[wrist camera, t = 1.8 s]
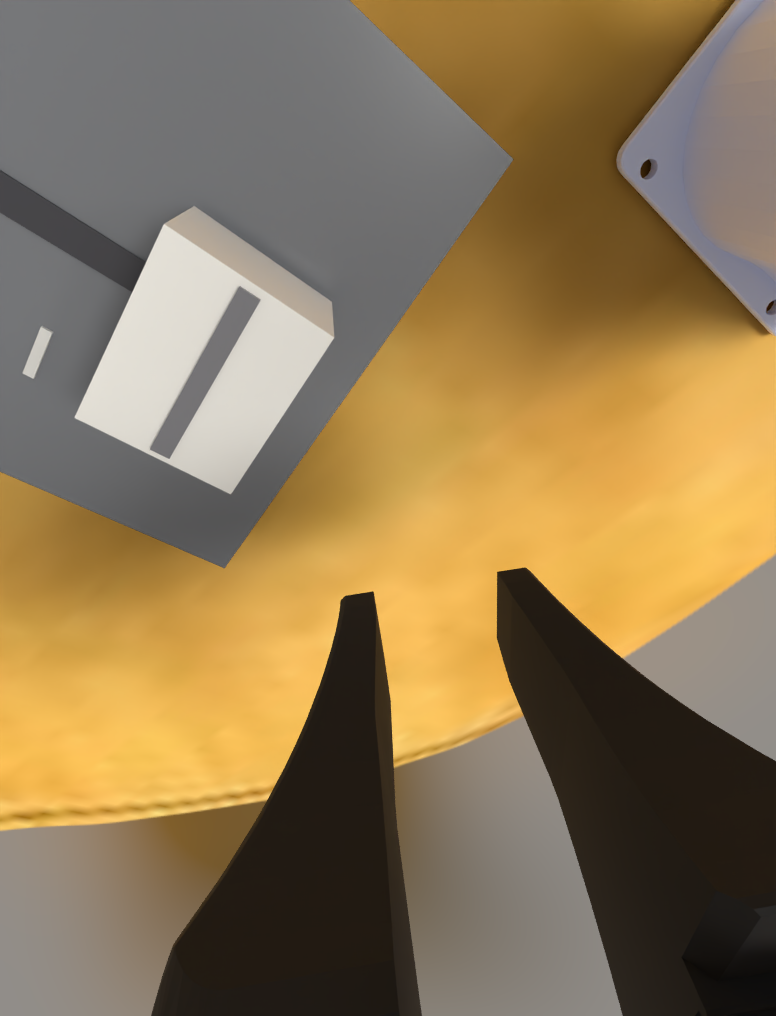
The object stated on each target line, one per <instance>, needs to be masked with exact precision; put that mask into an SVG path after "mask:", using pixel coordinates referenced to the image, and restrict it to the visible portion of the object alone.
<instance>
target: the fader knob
mask: <svg viewBox="0 0 776 1016" xmlns="http://www.w3.org/2000/svg"><path fill="white" fill-rule="evenodd" d="M333 339H334V325H333V310H332V302H331V301H330V300H329V299H327V298H326V297H324V296H323V295H321V294H320V293H319V292H317V291H316V290H314V289H313V288H311V287H310V286H308V285H307V284H306V283H304V282H303V281H301V280H300V279H298V278H297V277H296V276H294V275H293V274H291V273H290V272H288V271H287V270H286V269H284V268H283V267H281V266H280V265H278V264H277V263H275V262H274V261H273V260H271V259H270V258H268V257H267V256H265V255H264V254H263V253H261V252H260V251H258V250H257V249H255V248H254V247H253V246H251V245H250V244H248V243H247V242H245V241H244V240H242V239H241V238H240V237H238V236H237V235H235V234H234V233H232V232H231V231H230V230H228V229H227V228H225V227H224V226H222V225H221V224H219V223H218V222H217V221H215V220H214V219H212V218H211V217H209V216H208V215H207V214H205V213H204V212H202V211H201V210H199V209H198V208H197V207H195V206H193V207H192V208H190V209H188V210H187V211H185V212H183V213H181V214H180V215H178V216H176V217H175V218H173V219H171V220H170V221H168V222H166V223H164V225H163V227H162V229H161V231H160V233H159V236H158V238H157V240H156V242H155V244H154V246H153V249H152V251H151V253H150V255H149V257H148V259H147V262H146V264H145V266H144V268H143V270H142V272H141V275H140V277H139V279H138V281H137V283H136V285H135V288H134V290H133V292H132V294H131V296H130V298H129V301H128V303H127V305H126V307H125V309H124V311H123V314H122V316H121V318H120V320H119V322H118V324H117V327H116V329H115V331H114V333H113V335H112V337H111V340H110V342H109V344H108V346H107V348H106V350H105V353H104V355H103V357H102V359H101V361H100V363H99V366H98V368H97V370H96V372H95V374H94V376H93V379H92V381H91V383H90V385H89V387H88V389H87V392H86V394H85V396H84V398H83V400H82V402H81V405H80V407H79V409H78V411H77V413H76V415H75V418H76V419H78V420H80V421H82V422H84V423H86V424H88V425H90V426H92V427H94V428H96V429H98V430H100V431H102V432H104V433H106V434H108V435H110V436H113V437H115V438H117V439H119V440H121V441H123V442H125V443H127V444H129V445H131V446H133V447H135V448H137V449H139V450H141V451H143V452H145V453H147V454H149V455H151V456H153V457H155V458H157V459H159V460H161V461H163V462H166V463H168V464H170V465H172V466H174V467H176V468H178V469H180V470H182V471H184V472H186V473H188V474H190V475H192V476H194V477H196V478H198V479H200V480H202V481H204V482H206V483H208V484H210V485H212V486H214V487H216V488H219V489H221V490H223V491H225V492H227V493H229V494H231V493H232V492H233V490H234V489H235V487H236V486H237V484H238V483H239V481H240V480H241V478H242V477H243V475H244V474H245V472H246V471H247V469H248V468H249V466H250V465H251V463H252V462H253V460H254V459H255V457H256V456H257V454H258V453H259V451H260V450H261V448H262V446H263V445H264V443H265V442H266V440H267V439H268V437H269V436H270V434H271V433H272V431H273V430H274V428H275V427H276V425H277V424H278V422H279V421H280V419H281V418H282V416H283V415H284V413H285V412H286V410H287V409H288V407H289V406H290V404H291V403H292V401H293V399H294V398H295V396H296V395H297V393H298V392H299V390H300V389H301V387H302V386H303V384H304V383H305V381H306V380H307V378H308V377H309V375H310V374H311V372H312V371H313V369H314V368H315V366H316V365H317V363H318V362H319V360H320V359H321V357H322V356H323V354H324V353H325V351H326V349H327V348H328V346H329V345H330V343H331V342H332V340H333Z"/></svg>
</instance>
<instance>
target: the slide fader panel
mask: <svg viewBox="0 0 776 1016" xmlns="http://www.w3.org/2000/svg"><path fill="white" fill-rule="evenodd" d="M512 161H513V158H512V157H511V156H510V155H509V154H508V153H507V152H506V151H504V150H503V149H502V148H501V147H500V146H499V145H498V144H497V143H496V142H495V141H494V140H493V139H492V138H491V137H490V136H489V135H488V134H487V133H486V132H485V131H484V130H483V129H482V128H481V127H480V126H479V125H478V124H477V123H476V122H475V121H473V120H472V119H471V118H470V117H469V116H468V115H467V114H466V113H465V112H464V111H463V110H462V109H461V108H460V107H459V106H458V105H457V104H456V103H455V102H454V101H453V100H452V99H451V98H450V97H449V96H448V95H447V94H446V93H445V92H444V91H443V90H441V89H440V88H439V87H438V86H437V85H436V84H435V83H434V82H433V81H432V80H431V79H430V78H429V77H428V76H427V75H426V74H425V73H424V72H423V71H422V70H421V69H420V68H419V67H418V66H417V65H416V64H415V63H414V62H413V61H412V60H410V59H409V58H408V57H407V56H406V55H405V54H404V53H403V52H402V51H401V50H400V49H399V48H398V47H397V46H396V45H395V44H394V43H393V42H392V41H391V40H390V39H389V38H388V37H387V36H386V35H385V34H384V33H383V32H382V31H381V30H379V29H378V28H377V27H376V26H375V25H374V24H373V23H372V22H371V21H370V20H369V19H368V18H367V17H366V16H365V15H364V14H363V13H362V12H361V11H360V10H359V9H358V8H357V7H356V6H355V5H354V4H353V3H352V2H351V1H350V0H0V472H2V473H5V474H7V475H9V476H12V477H14V478H16V479H19V480H21V481H23V482H25V483H28V484H30V485H32V486H35V487H37V488H39V489H42V490H44V491H46V492H49V493H51V494H53V495H56V496H58V497H60V498H63V499H65V500H67V501H70V502H72V503H74V504H77V505H79V506H81V507H84V508H86V509H88V510H90V511H93V512H95V513H97V514H100V515H102V516H104V517H107V518H109V519H111V520H114V521H116V522H118V523H121V524H123V525H125V526H128V527H130V528H132V529H135V530H137V531H139V532H142V533H144V534H146V535H149V536H151V537H153V538H155V539H158V540H160V541H162V542H165V543H167V544H169V545H172V546H174V547H176V548H179V549H181V550H183V551H186V552H188V553H190V554H193V555H195V556H197V557H200V558H202V559H204V560H207V561H209V562H211V563H214V564H216V565H218V566H221V567H223V568H225V567H226V565H227V564H228V563H229V561H230V560H231V558H232V557H233V555H234V554H235V553H236V551H237V550H238V548H239V547H240V546H241V544H242V543H243V541H244V540H245V539H246V537H247V536H248V534H249V533H250V531H251V530H252V529H253V527H254V526H255V524H256V523H257V522H258V520H259V519H260V517H261V516H262V514H263V513H264V512H265V510H266V509H267V507H268V506H269V505H270V503H271V502H272V500H273V499H274V497H275V496H276V495H277V493H278V492H279V490H280V489H281V488H282V486H283V485H284V483H285V482H286V481H287V479H288V478H289V476H290V475H291V473H292V472H293V471H294V469H295V468H296V466H297V465H298V464H299V462H300V461H301V459H302V458H303V456H304V455H305V454H306V452H307V451H308V449H309V448H310V447H311V445H312V444H313V442H314V441H315V440H316V438H317V437H318V435H319V434H320V432H321V431H322V430H323V428H324V427H325V425H326V424H327V423H328V421H329V420H330V418H331V417H332V415H333V414H334V413H335V411H336V410H337V408H338V407H339V406H340V404H341V403H342V401H343V400H344V398H345V397H346V396H347V394H348V393H349V391H350V390H351V389H352V387H353V386H354V384H355V383H356V382H357V380H358V379H359V377H360V376H361V374H362V373H363V372H364V370H365V369H366V367H367V366H368V365H369V363H370V362H371V360H372V359H373V357H374V356H375V355H376V353H377V352H378V350H379V349H380V348H381V346H382V345H383V343H384V342H385V340H386V339H387V338H388V336H389V335H390V333H391V332H392V331H393V329H394V328H395V326H396V325H397V324H398V322H399V321H400V319H401V318H402V316H403V315H404V314H405V312H406V311H407V309H408V308H409V307H410V305H411V304H412V302H413V301H414V299H415V298H416V297H417V295H418V294H419V292H420V291H421V290H422V288H423V287H424V285H425V284H426V283H427V281H428V280H429V278H430V277H431V275H432V274H433V273H434V271H435V270H436V268H437V267H438V266H439V264H440V263H441V261H442V260H443V258H444V257H445V256H446V254H447V253H448V251H449V250H450V249H451V247H452V246H453V244H454V243H455V241H456V240H457V239H458V237H459V236H460V234H461V233H462V232H463V230H464V229H465V227H466V226H467V225H468V223H469V222H470V220H471V219H472V217H473V216H474V215H475V213H476V212H477V210H478V209H479V208H480V206H481V205H482V203H483V202H484V200H485V199H486V198H487V196H488V195H489V193H490V192H491V191H492V189H493V188H494V186H495V185H496V184H497V182H498V181H499V179H500V178H501V176H502V175H503V174H504V172H505V171H506V169H507V168H508V167H509V165H510V164H511V162H512ZM193 206H195V207H197V208H198V209H199V210H201V211H202V212H204V213H205V214H207V215H208V216H209V217H211V218H212V219H214V220H215V221H217V222H218V223H219V224H221V225H222V226H224V227H225V228H227V229H228V230H230V231H231V232H232V233H234V234H235V235H237V236H238V237H240V238H241V239H242V240H244V241H245V242H247V243H248V244H250V245H251V246H253V247H254V248H255V249H257V250H258V251H260V252H261V253H263V254H264V255H265V256H267V257H268V258H270V259H271V260H273V261H274V262H275V263H277V264H278V265H280V266H281V267H283V268H284V269H286V270H287V271H288V272H290V273H291V274H293V275H294V276H296V277H297V278H298V279H300V280H301V281H303V282H304V283H306V284H307V285H308V286H310V287H311V288H313V289H314V290H316V291H317V292H319V293H320V294H321V295H323V296H324V297H326V298H327V299H329V300H330V301H331V302H332V310H333V325H334V339H333V340H332V342H331V343H330V345H329V346H328V348H327V349H326V351H325V353H324V354H323V356H322V357H321V359H320V360H319V362H318V363H317V365H316V366H315V368H314V369H313V371H312V372H311V374H310V375H309V377H308V378H307V380H306V381H305V383H304V384H303V386H302V387H301V389H300V390H299V392H298V393H297V395H296V396H295V398H294V399H293V401H292V403H291V404H290V406H289V407H288V409H287V410H286V412H285V413H284V415H283V416H282V418H281V419H280V421H279V422H278V424H277V425H276V427H275V428H274V430H273V431H272V433H271V434H270V436H269V437H268V439H267V440H266V442H265V443H264V445H263V446H262V448H261V450H260V451H259V453H258V454H257V456H256V457H255V459H254V460H253V462H252V463H251V465H250V466H249V468H248V469H247V471H246V472H245V474H244V475H243V477H242V478H241V480H240V481H239V483H238V484H237V486H236V487H235V489H234V490H233V492H232V493H231V494H229V493H227V492H225V491H223V490H221V489H219V488H216V487H214V486H212V485H210V484H208V483H206V482H204V481H202V480H200V479H198V478H196V477H194V476H192V475H190V474H188V473H186V472H184V471H182V470H180V469H178V468H176V467H174V466H172V465H170V464H168V463H166V462H163V461H161V460H159V459H157V458H155V457H153V456H151V455H149V454H147V453H145V452H143V451H141V450H139V449H137V448H135V447H133V446H131V445H129V444H127V443H125V442H123V441H121V440H119V439H117V438H115V437H113V436H110V435H108V434H106V433H104V432H102V431H100V430H98V429H96V428H94V427H92V426H90V425H88V424H86V423H84V422H82V421H80V420H78V419H76V418H75V415H76V413H77V411H78V409H79V407H80V405H81V402H82V400H83V398H84V396H85V394H86V392H87V389H88V387H89V385H90V383H91V381H92V379H93V376H94V374H95V372H96V370H97V368H98V366H99V363H100V361H101V359H102V357H103V355H104V353H105V350H106V348H107V346H108V344H109V342H110V340H111V337H112V335H113V333H114V331H115V329H116V327H117V324H118V322H119V320H120V318H121V316H122V314H123V311H124V309H125V307H126V305H127V303H128V301H129V298H130V296H131V294H132V292H133V290H134V288H135V285H136V283H137V281H138V279H139V277H140V275H141V272H142V270H143V268H144V266H145V264H146V262H147V259H148V257H149V255H150V253H151V251H152V249H153V246H154V244H155V242H156V240H157V238H158V236H159V233H160V231H161V229H162V227H163V225H164V223H166V222H168V221H170V220H171V219H173V218H175V217H176V216H178V215H180V214H181V213H183V212H185V211H187V210H188V209H190V208H192V207H193Z"/></svg>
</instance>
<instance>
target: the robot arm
mask: <svg viewBox="0 0 776 1016" xmlns="http://www.w3.org/2000/svg"><path fill="white" fill-rule="evenodd" d="M648 159H649V160H650V162H651V170H650V172H649V174H648V175H647V176H646V177H644V178H642V177H641V175H640V169H641V166H642V164H643V163H644V162H645V161H646V160H648ZM616 162H617V168H618V170H619V172H620V173H621V174H622V175H623V177H624V178H625V179H626V180H627V181H628V182H629V183H630V184H631V185H632V186H633V187H634V188H635V189H636V190H637V191H638V193H639V194H640V195H641V196H642V197H643V198H644V199H645V200H646V201H647V202H648V203H649V204H650V205H651V206H652V208H653V209H654V210H655V211H656V212H657V213H658V214H659V215H660V216H661V217H662V218H663V219H664V220H665V221H666V222H667V224H668V225H669V226H670V227H671V228H672V229H673V230H674V231H675V232H676V233H677V234H678V235H679V236H680V237H681V239H682V240H683V241H684V242H685V243H686V244H687V245H688V246H689V247H690V248H691V249H692V250H693V251H694V252H695V253H696V255H697V256H698V257H699V258H700V259H701V260H702V261H703V262H704V263H705V264H706V265H707V266H708V267H709V268H710V270H711V271H712V272H713V273H714V274H715V275H716V276H717V277H718V278H719V279H720V280H721V281H722V282H723V283H724V284H725V286H726V287H727V288H728V289H729V290H730V291H731V292H732V293H733V294H734V295H735V296H736V297H737V298H738V299H739V301H740V302H741V303H742V304H743V305H744V306H745V307H746V308H747V309H748V310H749V311H750V312H751V313H752V314H753V315H754V317H755V318H756V319H757V320H758V321H759V322H760V323H761V324H762V325H763V326H764V327H765V328H766V329H767V330H768V332H769V333H771V334H773V335H775V336H776V0H735V2H734V3H733V4H732V5H731V7H730V8H729V9H728V11H727V12H726V13H725V14H724V16H723V17H722V18H721V20H720V21H719V22H718V23H717V25H716V26H715V27H714V28H713V30H712V31H711V32H710V34H709V35H708V36H707V37H706V39H705V40H704V41H703V43H702V44H701V45H700V46H699V48H698V49H697V50H696V52H695V53H694V54H693V55H692V57H691V58H690V59H689V60H688V62H687V63H686V64H685V66H684V67H683V68H682V69H681V71H680V72H679V73H678V75H677V76H676V77H675V78H674V80H673V81H672V82H671V83H670V85H669V86H668V87H667V89H666V90H665V91H664V92H663V94H662V95H661V96H660V98H659V99H658V100H657V101H656V103H655V104H654V105H653V107H652V108H651V109H650V110H649V112H648V113H647V114H646V115H645V117H644V118H643V119H642V121H641V122H640V123H639V124H638V126H637V127H636V128H635V130H634V131H633V132H632V133H631V135H630V136H629V137H628V138H627V140H626V141H625V142H624V144H623V145H622V146H621V148H620V150H619V152H618V155H617V159H616ZM773 300H774V303H773V306H772V307H771V309H770V310H768V311H767V312H766V308H767V306H768V305H769V303H770V302H772V301H773ZM497 640H498V643H499V647H500V650H501V654H502V657H503V661H504V664H505V668H506V671H507V674H508V678H509V681H510V683H511V686H512V688H513V691H514V693H515V696H516V698H517V700H518V703H519V705H520V707H521V710H522V712H523V715H524V717H525V719H526V721H527V724H528V726H529V729H530V731H531V733H532V735H533V738H534V740H535V743H536V745H537V747H538V750H539V752H540V755H541V757H542V759H543V762H544V764H545V766H546V769H547V771H548V773H549V776H550V778H551V781H552V783H553V786H554V789H555V791H556V794H557V797H558V799H559V803H560V806H561V809H562V812H563V815H564V818H565V821H566V824H567V827H568V830H569V834H570V837H571V840H572V843H573V846H574V849H575V853H576V856H577V859H578V862H579V866H580V869H581V872H582V875H583V879H584V882H585V885H586V888H587V892H588V895H589V898H590V901H591V905H592V909H593V912H594V915H595V919H596V922H597V926H598V929H599V933H600V936H601V939H602V942H603V946H604V949H605V953H606V956H607V960H608V963H609V967H610V970H611V974H612V978H613V982H614V985H615V989H616V993H617V996H618V1000H619V1003H620V1007H621V1011H622V1014H623V1016H776V761H775V760H773V759H771V758H769V757H767V756H765V755H764V754H762V753H760V752H759V751H757V750H755V749H753V748H752V747H750V746H748V745H747V744H745V743H744V742H742V741H740V740H739V739H737V738H735V737H734V736H732V735H730V734H729V733H727V732H725V731H724V730H722V729H720V728H719V727H717V726H715V725H714V724H712V723H711V722H709V721H707V720H706V719H704V718H703V717H701V716H700V715H698V714H697V713H695V712H694V711H692V710H691V709H689V708H688V707H686V706H685V705H683V704H682V703H680V702H679V701H678V700H676V699H675V698H673V697H672V696H671V695H669V694H668V693H666V692H665V691H664V690H662V689H661V688H659V687H658V686H657V685H655V684H654V683H653V682H651V681H650V680H649V679H647V678H646V677H644V675H642V674H641V673H640V672H638V671H637V670H636V669H635V668H633V667H632V666H631V665H630V664H628V663H627V662H626V661H625V660H624V659H622V658H621V657H620V656H619V655H618V654H616V653H615V652H614V651H613V650H612V649H610V648H609V647H608V646H607V645H606V644H605V643H603V642H602V641H601V640H600V639H599V638H598V637H597V636H596V635H595V634H593V633H592V632H591V631H590V630H589V629H588V628H587V627H586V626H585V625H584V624H582V623H581V622H580V621H579V620H578V619H577V618H576V617H575V616H574V615H573V614H572V613H571V612H570V611H569V610H568V609H567V608H566V607H565V606H564V605H563V604H562V603H560V602H559V601H558V600H557V599H556V598H555V597H554V596H553V595H552V594H551V592H550V591H549V590H548V589H547V588H546V587H545V586H544V585H543V584H542V583H541V582H540V581H539V580H538V579H537V578H536V577H535V576H534V575H533V574H532V573H531V572H530V571H529V570H528V569H527V568H519V569H513V570H507V571H500V572H497ZM151 1016H422V1014H421V1006H420V999H419V991H418V984H417V976H416V969H415V961H414V954H413V946H412V939H411V932H410V924H409V916H408V908H407V900H406V893H405V885H404V878H403V870H402V862H401V854H400V846H399V838H398V831H397V820H396V808H395V789H394V767H393V744H392V722H391V701H390V694H389V687H388V680H387V673H386V666H385V659H384V652H383V646H382V640H381V634H380V628H379V622H378V616H377V610H376V604H375V598H374V592H367V593H361V594H354V595H348V596H345V597H344V598H343V599H342V600H341V603H340V612H339V618H338V623H337V628H336V633H335V636H334V640H333V644H332V648H331V652H330V655H329V658H328V661H327V664H326V668H325V671H324V674H323V677H322V680H321V683H320V686H319V689H318V691H317V694H316V696H315V699H314V702H313V704H312V707H311V709H310V712H309V715H308V717H307V720H306V722H305V724H304V727H303V729H302V731H301V734H300V736H299V738H298V740H297V743H296V745H295V747H294V749H293V751H292V753H291V755H290V757H289V760H288V762H287V764H286V766H285V768H284V770H283V772H282V774H281V775H280V777H279V779H278V781H277V783H276V785H275V787H274V789H273V791H272V793H271V794H270V796H269V798H268V800H267V802H266V804H265V806H264V807H263V809H262V811H261V813H260V814H259V816H258V818H257V819H256V821H255V823H254V824H253V826H252V828H251V829H250V831H249V833H248V834H247V836H246V837H245V839H244V841H243V842H242V844H241V845H240V847H239V849H238V850H237V852H236V854H235V855H234V857H233V858H232V860H231V862H230V863H229V865H228V866H227V868H226V870H225V871H224V873H223V874H222V876H221V877H220V879H219V880H218V882H217V883H216V885H215V886H214V888H213V889H212V891H211V892H210V893H209V895H208V896H207V898H206V899H205V900H204V902H203V903H202V904H201V906H200V907H199V909H198V910H197V912H196V913H195V914H194V916H193V917H192V919H191V920H190V922H189V923H188V924H187V926H186V927H185V929H184V930H183V931H182V933H181V934H180V936H179V937H178V939H177V940H176V942H175V943H174V945H173V947H172V950H171V953H170V956H169V958H168V961H167V964H166V967H165V970H164V973H163V976H162V979H161V983H160V986H159V990H158V993H157V997H156V1001H155V1004H154V1007H153V1011H152V1015H151Z"/></svg>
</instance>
